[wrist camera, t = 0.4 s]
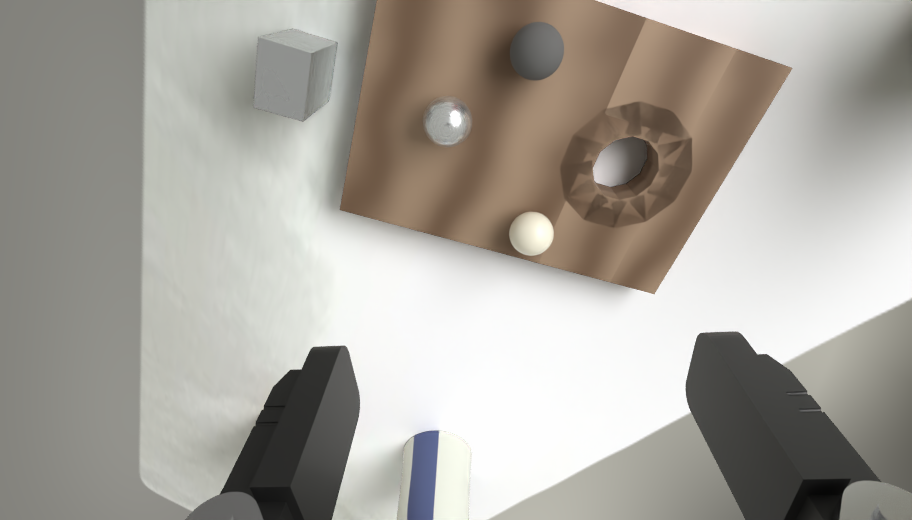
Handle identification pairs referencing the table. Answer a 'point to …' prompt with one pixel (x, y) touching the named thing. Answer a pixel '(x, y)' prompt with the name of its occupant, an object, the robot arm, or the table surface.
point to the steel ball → (447, 121)
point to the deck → (552, 130)
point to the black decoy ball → (536, 51)
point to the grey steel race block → (293, 73)
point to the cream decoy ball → (531, 233)
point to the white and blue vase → (435, 478)
